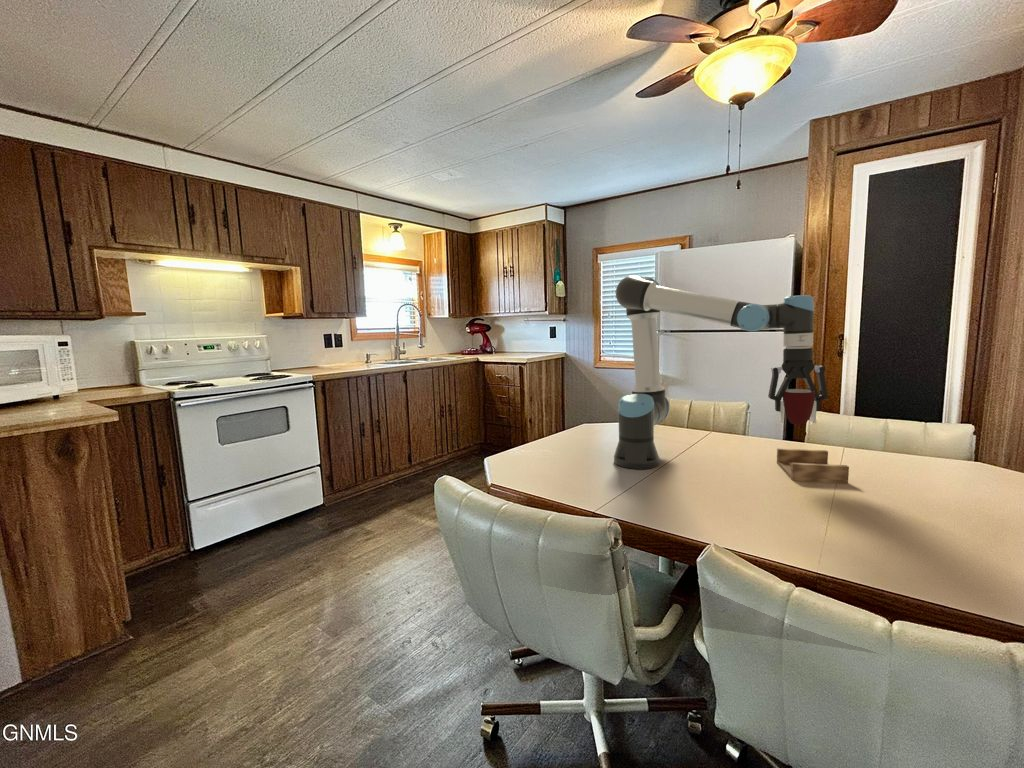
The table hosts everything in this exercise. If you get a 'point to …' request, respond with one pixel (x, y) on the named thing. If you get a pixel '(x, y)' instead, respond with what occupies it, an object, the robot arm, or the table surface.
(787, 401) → the mug
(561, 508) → the table surface
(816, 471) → the rack
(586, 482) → the table surface
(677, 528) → the table surface
